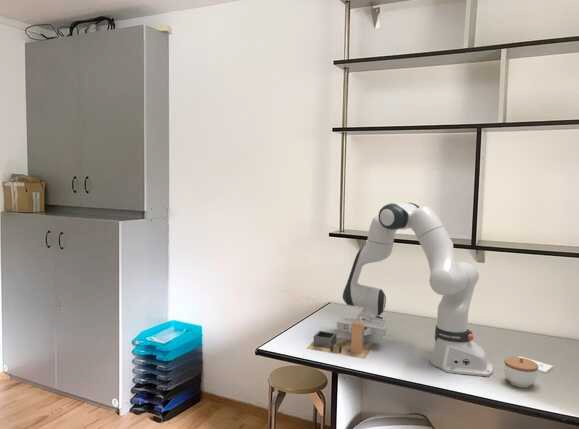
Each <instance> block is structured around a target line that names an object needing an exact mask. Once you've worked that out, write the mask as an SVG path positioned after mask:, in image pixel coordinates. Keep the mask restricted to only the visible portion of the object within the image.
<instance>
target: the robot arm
mask: <svg viewBox="0 0 579 429" xmlns="http://www.w3.org/2000/svg"><path fill="white" fill-rule="evenodd" d="M371 220H372V221H371V223H370V226H369V229H368V234H367V240H366V243H365V245H364V247H363V248H360V249H359V250H358V252H357V253H356V256H355V258H354V260H353V264H352V267H351V270H350V272H349V276H348V279H347V282H346V285H345V287H344V288H343V292H342V300H343V301H344V303H345V304H346V305H347V306H351V307H357V308H361V311H360V312H359V313H358V314H357V315H356V316H358V319H357V321H359V318H360V317H362V321H364V330H363V331H362V333H363V334H362V335H364V337H366V336H368V335H370V336H377V337H386V335H387V323H386V318H385V317H382V314H383V312H384V311H385V308H386V303H387V297H386V294H385V292H384V290H383V289H381V288H377V287H373V286H367V285H364V284H360V283H359V282H358V281H359V279H360V277H361V273H362V270H363V267H364V266H366V265H368V264H371V263H379V262H382V261H384V260H386V259H388V258H389V257H390V256H391V254H392V251H393V248H394V240H395V235H396V232H397V231H398V230H403V231H404V230H408V229H411V230H412V232H414V234H415V236H416V238H417V240H418V242H419V244H420V247H421V248H422V250H423V252H424V254H425V257H426V259H427V262H428V267H429V271H430V276H429V285H430V287H431V289H432V291H434V293H435V294H438V295H441V296H442V297H441V299H440V302H439V304H438V305H437V316H436V325H435V328H434V340H435V341H434V346H433V350H432V351H433V352H432V354H431V357H430V360H429V361H430V363H431V364H432V365H433V366H435V367H436V368H439V369H441V370H442V371H444V372H446V373H449V374H460V375H470V376H480V377H489V376H492V374H493V373H494V371H493V370H494V368H493V364H492V363H490V362H489V361H488V360H487V359H488V358H487V354H486V352H485V349H484V348H482V347H481V346H480V345H479V344H477V343H476V342H475V341H474V334H473V331H472V330H469V329H468V322H469V320H468V319H469V310H470V306H471V305H470V304H471V301H472V298H473V295H474V294H473V293H474V290H475V288H476V284H477V282H478V281H479V279H480V278H479V276H480V274H479V270H478V268H477V267H476V266H475V265H474V264H472V263H470V262H466V261H456V258H455V255H454V242H453V241H452V239H451V237H450V236H449V233H448V232H447V230H446V228H445V227H444V226H445V225H444V224H443V222H442V221H441V220H440V218H439V216H438V215H437V214H436V213H435V210H433V209H432V208H431V207H430V206H419V204H416V203H413V202H401V201H400V202H393V203H388V204H385V205H384V206H382V207H381V209H380V210H379V212H378V215H375V216H374V217H373V218H372V219H371ZM354 320H355V318H351V317H341V318H340V319H338V320H337V321H336V329H337V330H339V331H344V332H348V334H351V335H352V323H353V321H354Z"/></svg>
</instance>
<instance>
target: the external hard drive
mask: <svg viewBox="0 0 579 429" xmlns="http://www.w3.org/2000/svg"><path fill="white" fill-rule="evenodd" d="M518 357H520V358H525V359H529V360H531V361H533V362H535V363H537V365H538V371H537V373H538V372H539V373H541V374H545V375H546V374H548V373H549V372H550V371H552V370H553V369H554V365H551V364H548V363H544V362H540V361H537V360H535V359H530V358H527V357H525V356H524V357H523V356H518Z"/></svg>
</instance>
